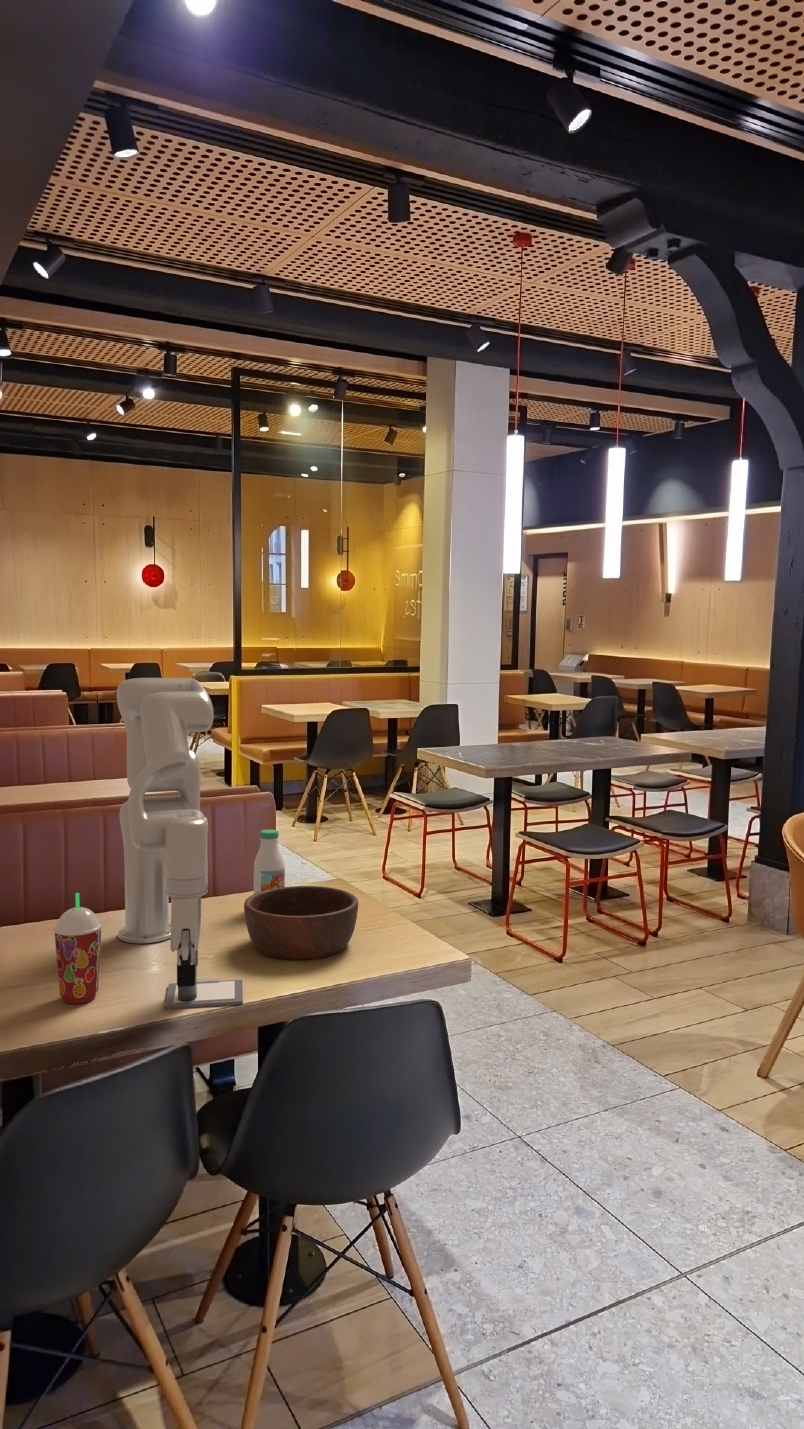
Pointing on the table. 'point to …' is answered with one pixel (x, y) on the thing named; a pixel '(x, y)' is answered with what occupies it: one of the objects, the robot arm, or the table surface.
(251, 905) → the wooden bowl
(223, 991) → the clipboard
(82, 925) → the smoothie
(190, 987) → the orange topped gray cylinder
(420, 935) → the table surface
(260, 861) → the milk bottle
